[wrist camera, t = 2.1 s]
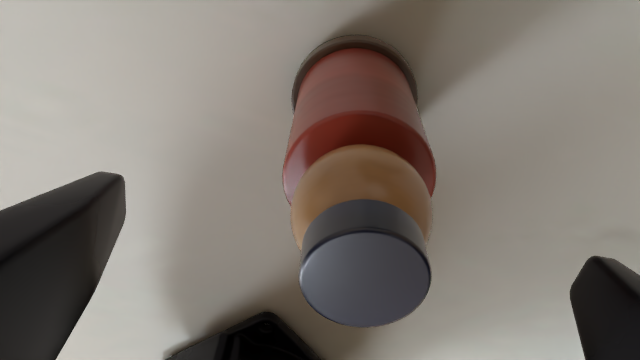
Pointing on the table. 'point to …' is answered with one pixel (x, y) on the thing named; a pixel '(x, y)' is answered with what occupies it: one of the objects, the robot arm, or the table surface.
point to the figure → (359, 183)
